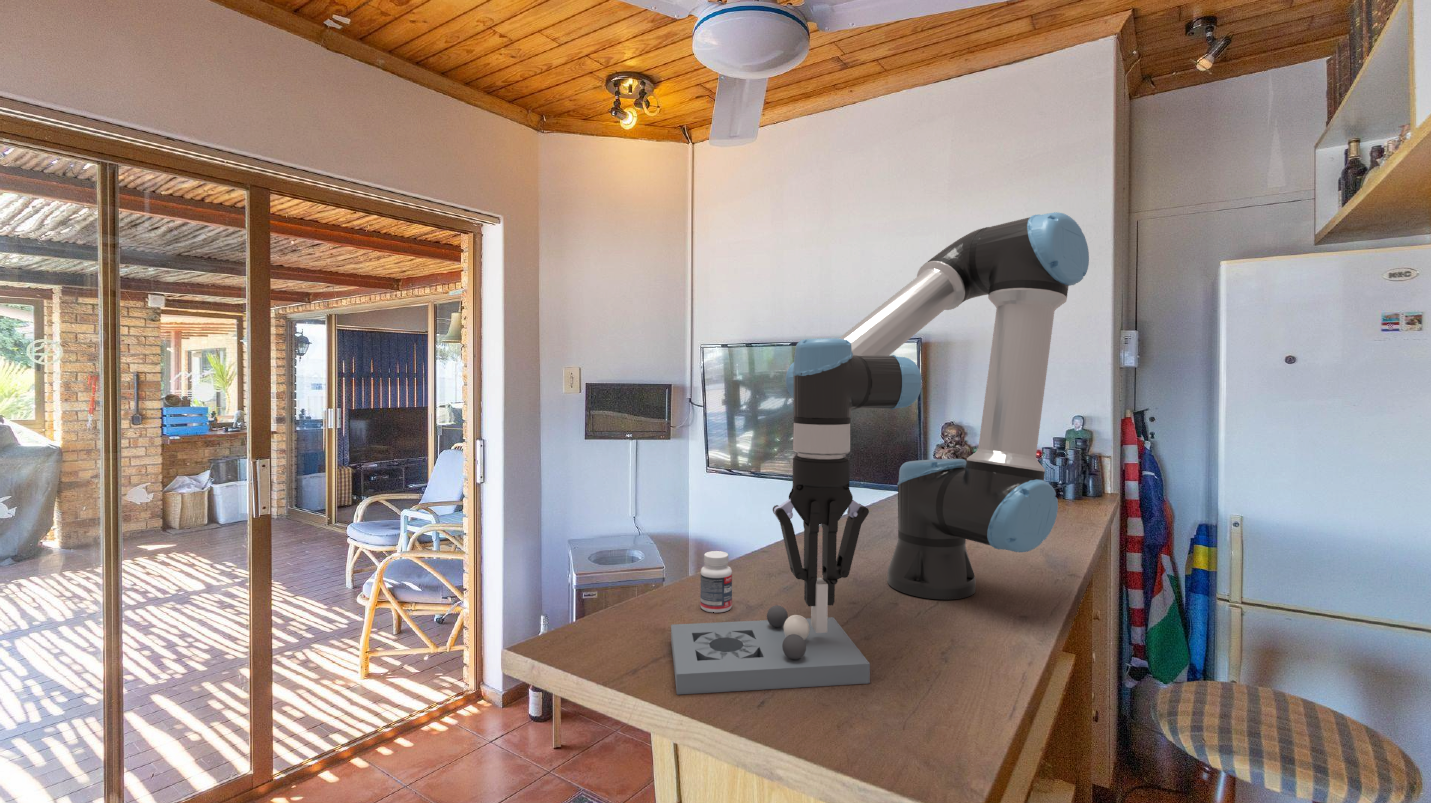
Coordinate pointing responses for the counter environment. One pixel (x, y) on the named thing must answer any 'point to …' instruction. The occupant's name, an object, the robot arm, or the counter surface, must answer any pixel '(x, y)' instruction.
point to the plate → (761, 658)
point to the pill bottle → (716, 583)
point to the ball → (796, 626)
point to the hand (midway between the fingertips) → (818, 628)
